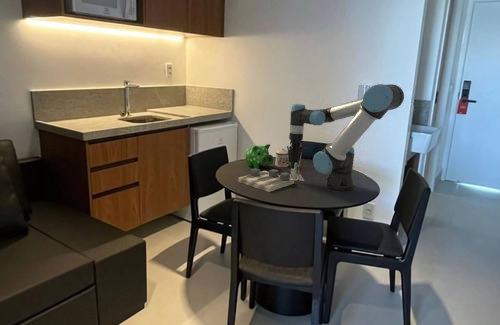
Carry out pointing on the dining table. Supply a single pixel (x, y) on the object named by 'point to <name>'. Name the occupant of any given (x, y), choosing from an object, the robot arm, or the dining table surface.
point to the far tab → (255, 172)
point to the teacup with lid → (282, 158)
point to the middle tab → (273, 173)
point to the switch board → (265, 181)
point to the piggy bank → (258, 156)
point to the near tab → (284, 176)
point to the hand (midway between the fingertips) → (293, 173)
